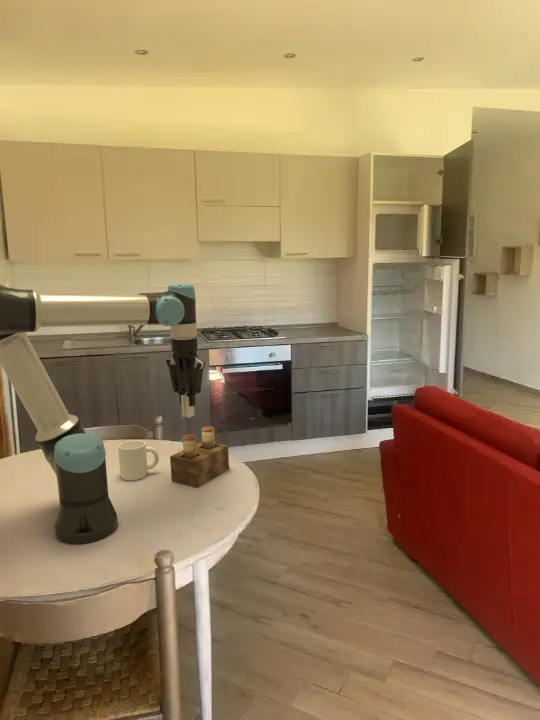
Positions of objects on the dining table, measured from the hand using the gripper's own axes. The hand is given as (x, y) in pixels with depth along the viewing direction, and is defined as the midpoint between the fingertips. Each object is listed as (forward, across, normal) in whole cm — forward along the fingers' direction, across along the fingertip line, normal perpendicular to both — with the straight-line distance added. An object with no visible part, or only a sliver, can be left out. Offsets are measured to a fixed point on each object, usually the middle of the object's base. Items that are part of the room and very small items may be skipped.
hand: (188, 415), depth 164 cm
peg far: (+14, 0, -9) cm, 17 cm away
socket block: (+20, 0, -4) cm, 21 cm away
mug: (+21, +17, +4) cm, 27 cm away
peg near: (+14, 0, 0) cm, 14 cm away
